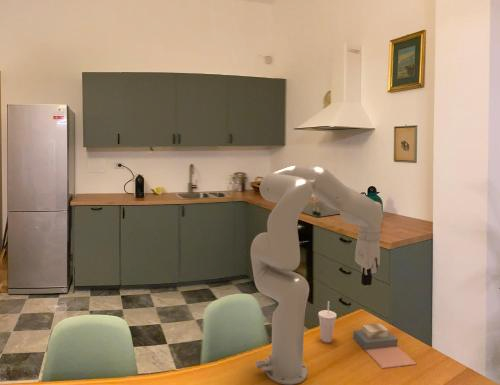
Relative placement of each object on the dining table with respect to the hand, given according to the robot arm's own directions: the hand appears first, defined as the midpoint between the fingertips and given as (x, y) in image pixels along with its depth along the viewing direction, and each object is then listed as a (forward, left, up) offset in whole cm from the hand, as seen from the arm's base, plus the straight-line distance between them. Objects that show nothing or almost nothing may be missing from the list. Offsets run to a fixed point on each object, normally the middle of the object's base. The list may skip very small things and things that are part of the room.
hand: (366, 284), depth 143 cm
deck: (0, -8, -18) cm, 20 cm away
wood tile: (0, -8, -14) cm, 16 cm away
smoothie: (-16, -3, -19) cm, 25 cm away
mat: (0, -18, -18) cm, 26 cm away
